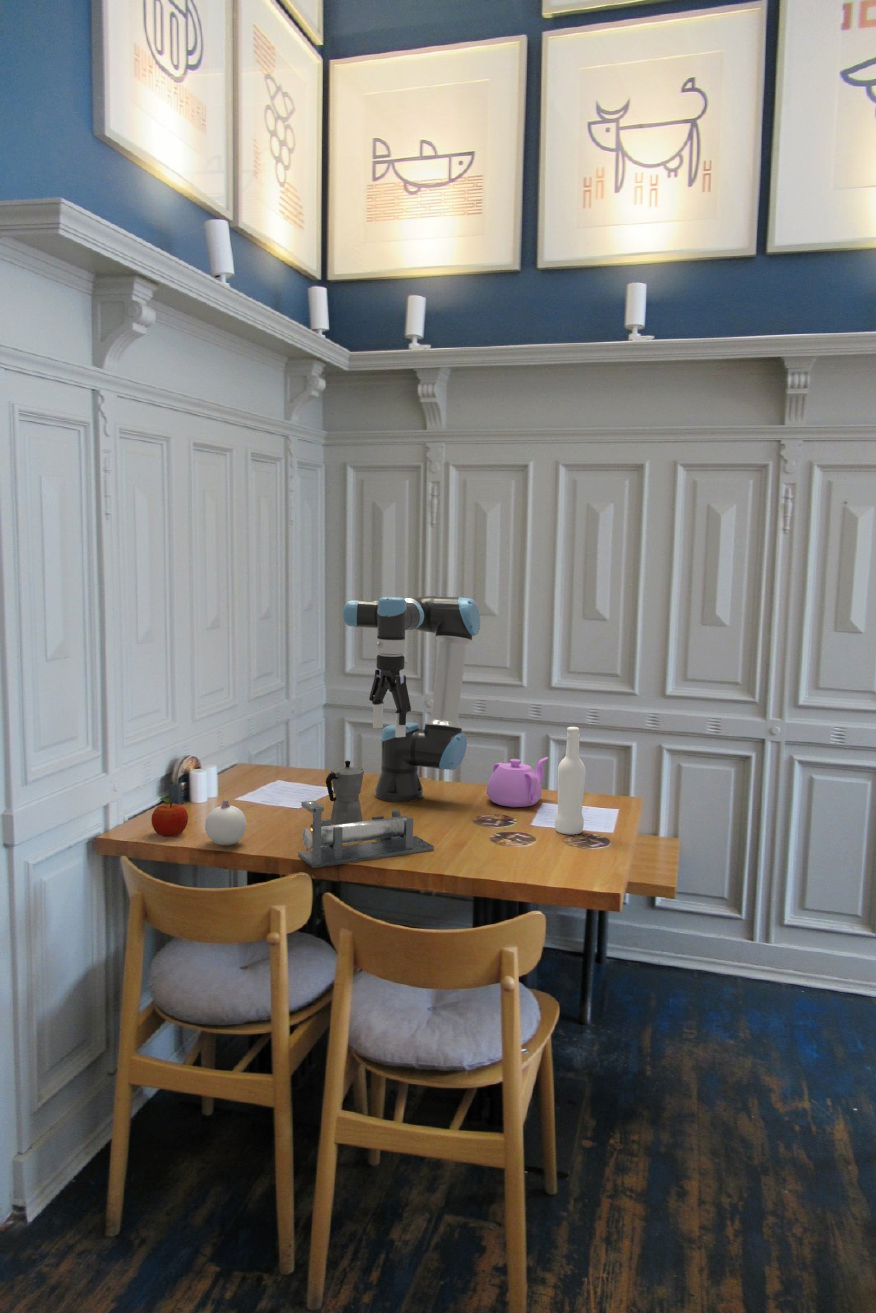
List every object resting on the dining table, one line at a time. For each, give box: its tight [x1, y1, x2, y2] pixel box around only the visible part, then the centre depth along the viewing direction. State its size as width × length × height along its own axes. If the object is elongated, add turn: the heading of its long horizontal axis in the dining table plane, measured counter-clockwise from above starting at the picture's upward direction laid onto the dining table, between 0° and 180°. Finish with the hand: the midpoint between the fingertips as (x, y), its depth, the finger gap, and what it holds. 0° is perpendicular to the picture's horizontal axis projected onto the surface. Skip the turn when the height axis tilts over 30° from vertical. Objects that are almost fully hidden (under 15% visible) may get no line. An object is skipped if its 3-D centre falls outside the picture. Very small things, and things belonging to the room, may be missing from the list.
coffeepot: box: [325, 760, 365, 825], centre depth 271 cm, size 15×9×18 cm, turn 145°
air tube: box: [302, 815, 409, 850], centre depth 243 cm, size 28×5×5 cm, turn 120°
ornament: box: [204, 799, 248, 846], centre depth 249 cm, size 10×10×12 cm
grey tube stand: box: [297, 800, 435, 869], centre depth 244 cm, size 35×10×15 cm, turn 120°
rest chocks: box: [310, 815, 391, 841], centre depth 254 cm, size 21×8×5 cm, turn 120°
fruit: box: [150, 797, 189, 838], centre depth 255 cm, size 10×10×10 cm
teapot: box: [486, 756, 549, 809], centre depth 300 cm, size 22×22×14 cm
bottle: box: [554, 726, 587, 836], centre depth 269 cm, size 8×8×30 cm
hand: (388, 732), depth 258 cm, fingers open, 13 cm apart
